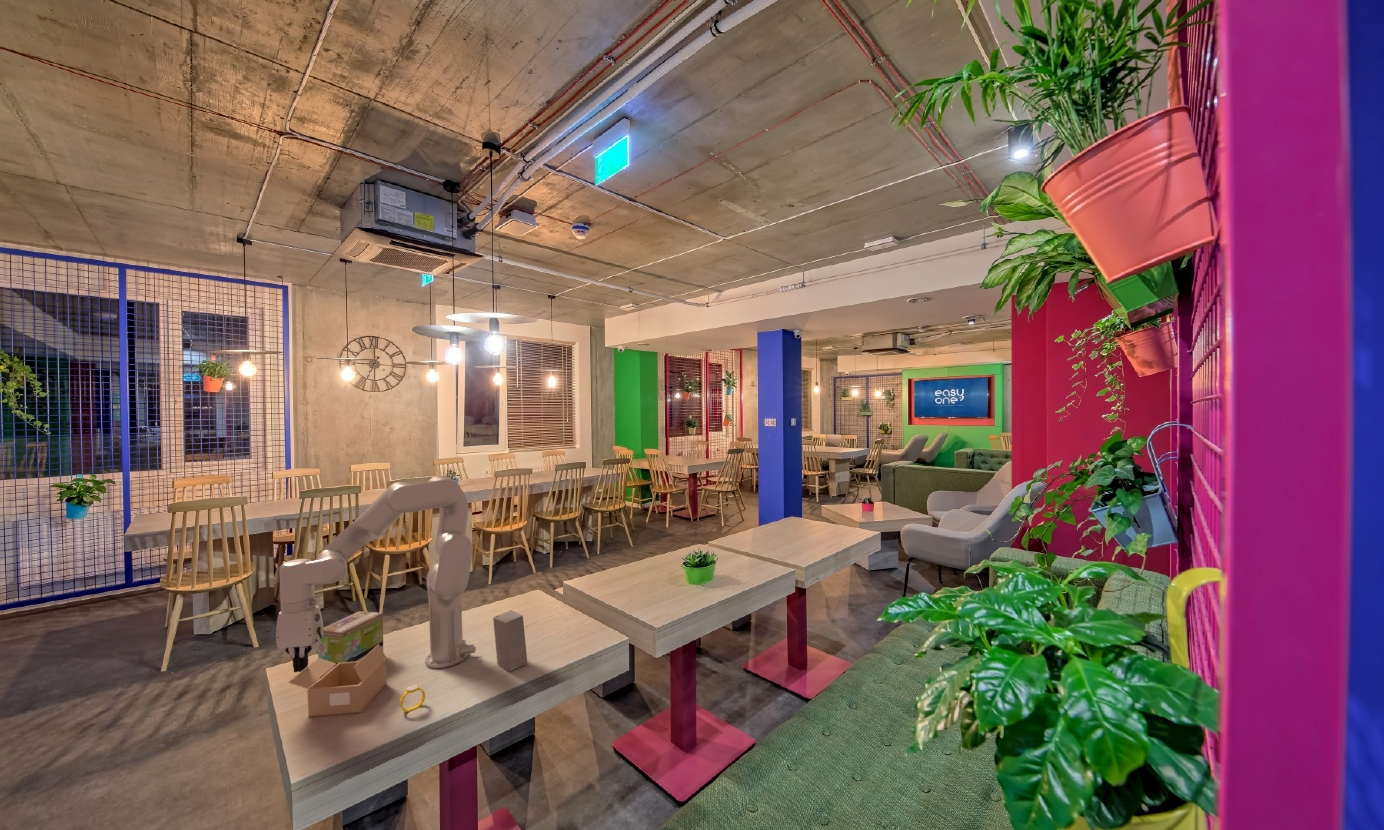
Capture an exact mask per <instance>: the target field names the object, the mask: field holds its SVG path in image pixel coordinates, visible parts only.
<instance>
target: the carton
mask: <svg viewBox="0 0 1384 830" xmlns="http://www.w3.org/2000/svg"><path fill="white" fill-rule="evenodd" d="M358 662H359V661H355V662H342V663H338V664H337V665H336V666H335V667H334V668H332V669H331V670H330V671H329V672H328V673H326V674H325V675H324V676H323V677H321V678H320V679H318V680H317V681H316V682H315V683H314V684H313V685H311V686H310V687H309V688H308V689H307V710H308V713H307V715H308V718H315V717H317V718H318V717H319V718H320V717H328V716H329V717H330V716H340V715H352V714H361V713H362V712H363V710H365V708H366V707H368V705H369V704H370V703H371V702H372V701H373V700H374V699H375V697H377V696H378V694H379V693H380V692H381V691H382V690H383V689H384V687H386V686H387V659H386V660H385V661H384V662H383V663H382V664H381V665H380V666H379V667H378V668H377V669H376V670H375V671H374V672H373V673H372V674H371V675H370V676H369V677H368V678H367V679H366V680H365V681H364V682H363V683H362V681H361V679H360V678H359V676H358V674H357V672H356V670H355V669H354V666H355V665H356V664H357V663H358Z"/></svg>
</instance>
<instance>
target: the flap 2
mask: <svg viewBox="0 0 1384 830" xmlns="http://www.w3.org/2000/svg"><path fill="white" fill-rule="evenodd" d="M387 659H388V658H387V656H386V655H385V653H384V650H383V651H382V649H381V647H380V645H379V644H378V645H377V646H376V647H375V648H374V649H372V650H371V651H370V652H369V653H368V654H367V655H366V656H365V657H364V658H363V659H362V660H360V661H359V662H358V663H357V664H356V665H355V666H354V669H355V670H356V672H357V674H358V676H359V678H360V679H361V681H362V683H363V682H364V681H365V680H366V679H367V678H368V677H369V676H370V675H371V674H372V673H373V672H374V671H375V670H376V669H377V668H378V667H379V666H380V665H381V664H382V663H383V662H384V661H385V660H386V661H387Z"/></svg>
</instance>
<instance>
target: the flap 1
mask: <svg viewBox="0 0 1384 830" xmlns="http://www.w3.org/2000/svg"><path fill="white" fill-rule="evenodd" d="M335 665H336V663H333V662H330V661H327V660H324V659H321V658H319V659H318V658H317V659H316V660H315V661H314V662H312V663H311V664H310V665H308V666H307V667H306V668H305V669H304V670H303V671H301V672H299V674H297V675H296V676H294V678H292V679H291V680H289V681H288V684H291V685H294V686H297V687H301V688H304V689H307V690H308V689H309V688H310V687H311V686H312V685H314V684H315V683H316V682H317V681H318V680H319V679H321V678H322V676H323V675H324V674H325V673H327V672H328V671H329V670H330V669H331V668H332V667H334V666H335Z"/></svg>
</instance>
